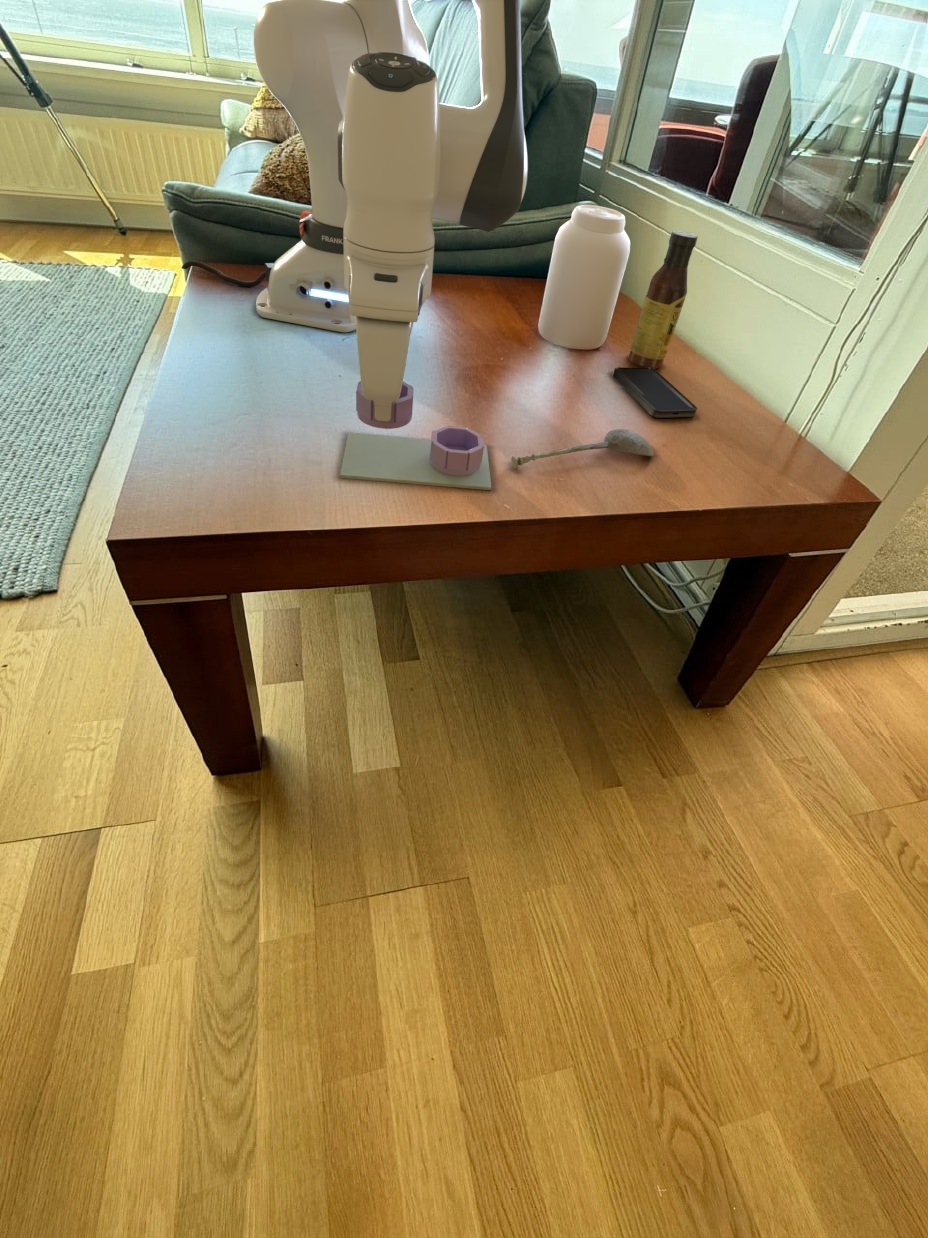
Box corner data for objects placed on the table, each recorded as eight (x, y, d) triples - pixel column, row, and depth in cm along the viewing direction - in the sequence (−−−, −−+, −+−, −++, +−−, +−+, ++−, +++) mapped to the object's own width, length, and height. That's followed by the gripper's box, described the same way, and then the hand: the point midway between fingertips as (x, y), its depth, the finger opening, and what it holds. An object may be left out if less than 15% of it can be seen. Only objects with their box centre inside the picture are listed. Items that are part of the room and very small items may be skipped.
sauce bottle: (662, 373, 108) (707, 243, 94) (626, 366, 108) (666, 235, 94) (661, 358, 112) (704, 232, 98) (627, 351, 113) (665, 225, 99)
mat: (340, 477, 74) (339, 474, 74) (348, 434, 81) (348, 432, 81) (491, 490, 76) (491, 487, 76) (486, 447, 83) (486, 444, 83)
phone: (652, 367, 106) (700, 409, 96) (650, 373, 107) (697, 416, 97) (611, 367, 104) (655, 411, 94) (609, 374, 105) (653, 418, 95)
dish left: (354, 426, 71) (354, 399, 69) (359, 400, 76) (359, 374, 74) (411, 431, 72) (412, 405, 70) (412, 405, 77) (414, 379, 74)
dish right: (429, 473, 76) (431, 450, 74) (429, 446, 81) (431, 423, 78) (481, 478, 77) (485, 455, 75) (478, 451, 81) (482, 428, 79)
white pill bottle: (589, 357, 109) (624, 225, 95) (525, 336, 112) (549, 205, 98) (614, 337, 117) (649, 213, 103) (553, 318, 120) (579, 195, 106)
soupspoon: (661, 465, 87) (633, 443, 91) (669, 442, 84) (641, 421, 89) (523, 481, 78) (499, 455, 82) (528, 456, 76) (503, 431, 80)
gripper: (364, 238, 70) (363, 361, 80) (347, 303, 56) (349, 443, 65) (421, 245, 71) (413, 366, 80) (418, 310, 56) (410, 449, 66)
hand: (384, 401), depth 73 cm, fingers closed on dish left, 6 cm apart
